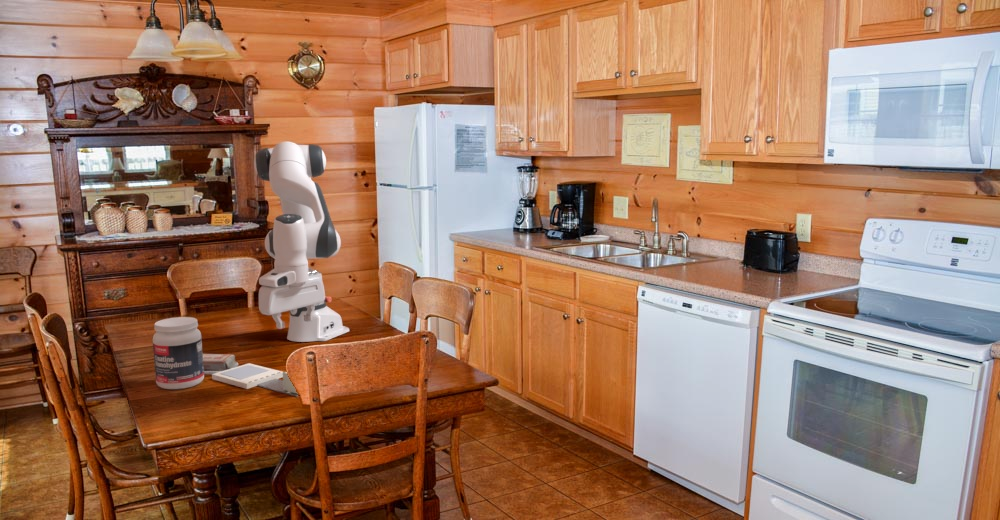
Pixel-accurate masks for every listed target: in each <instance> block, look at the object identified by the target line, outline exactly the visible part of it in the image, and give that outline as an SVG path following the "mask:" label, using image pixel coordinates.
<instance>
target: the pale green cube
mask: <svg viewBox="0 0 1000 520" xmlns="http://www.w3.org/2000/svg"><path fill="white" fill-rule="evenodd" d="M282 372H283V377H282V380H283V388H284V390H286V391H290V392H293V393H297V392H296V389H295V387H294V386H293V384H292V382H291V381H290V379H289V377H288V375H287V372H286V371H282ZM297 394H298V393H297Z"/></svg>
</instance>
